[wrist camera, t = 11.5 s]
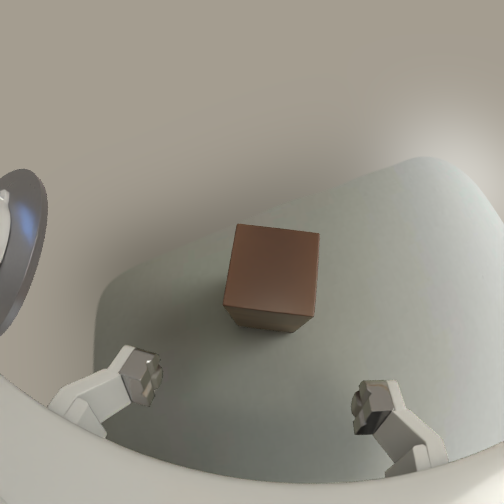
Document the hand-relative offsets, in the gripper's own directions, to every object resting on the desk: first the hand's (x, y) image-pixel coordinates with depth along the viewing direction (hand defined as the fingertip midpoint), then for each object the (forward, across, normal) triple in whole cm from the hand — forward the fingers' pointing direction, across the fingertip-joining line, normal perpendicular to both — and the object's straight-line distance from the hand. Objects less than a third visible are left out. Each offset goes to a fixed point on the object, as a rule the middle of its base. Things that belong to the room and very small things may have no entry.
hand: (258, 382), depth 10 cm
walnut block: (+10, 0, +3) cm, 10 cm away
